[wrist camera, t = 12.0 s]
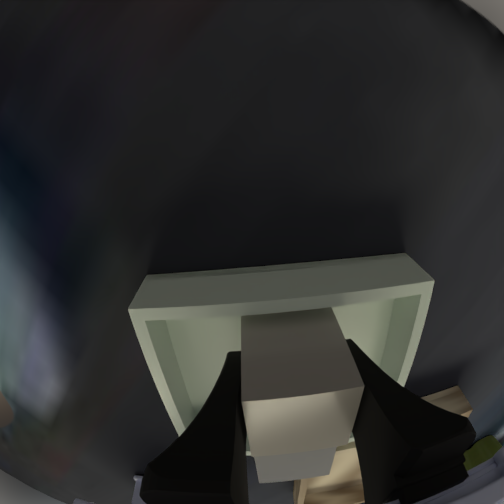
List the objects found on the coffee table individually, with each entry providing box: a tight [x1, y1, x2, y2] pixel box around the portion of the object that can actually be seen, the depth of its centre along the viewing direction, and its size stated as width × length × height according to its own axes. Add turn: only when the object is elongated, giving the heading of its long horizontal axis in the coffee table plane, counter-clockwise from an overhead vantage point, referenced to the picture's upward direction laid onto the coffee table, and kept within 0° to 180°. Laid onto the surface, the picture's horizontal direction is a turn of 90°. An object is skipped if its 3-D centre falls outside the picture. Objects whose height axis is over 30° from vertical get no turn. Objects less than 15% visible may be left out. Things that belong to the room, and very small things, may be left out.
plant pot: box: [463, 435, 502, 471], centre depth 22 cm, size 12×12×11 cm
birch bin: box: [293, 385, 473, 504], centre depth 21 cm, size 14×16×3 cm
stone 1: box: [241, 307, 364, 457], centre depth 12 cm, size 4×4×5 cm
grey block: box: [254, 447, 337, 483], centre depth 15 cm, size 4×4×5 cm
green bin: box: [128, 253, 435, 455], centre depth 15 cm, size 13×12×3 cm
